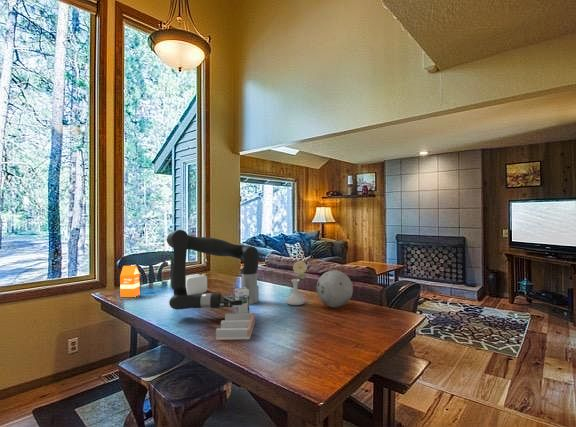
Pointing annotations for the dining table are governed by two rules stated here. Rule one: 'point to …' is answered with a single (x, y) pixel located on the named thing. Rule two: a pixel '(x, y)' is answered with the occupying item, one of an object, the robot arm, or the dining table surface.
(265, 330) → the dining table surface
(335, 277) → the moon model
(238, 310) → the syrup box
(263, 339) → the dining table surface
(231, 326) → the divided tray
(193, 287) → the cable organizer
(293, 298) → the flower in vase
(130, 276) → the orange juice
